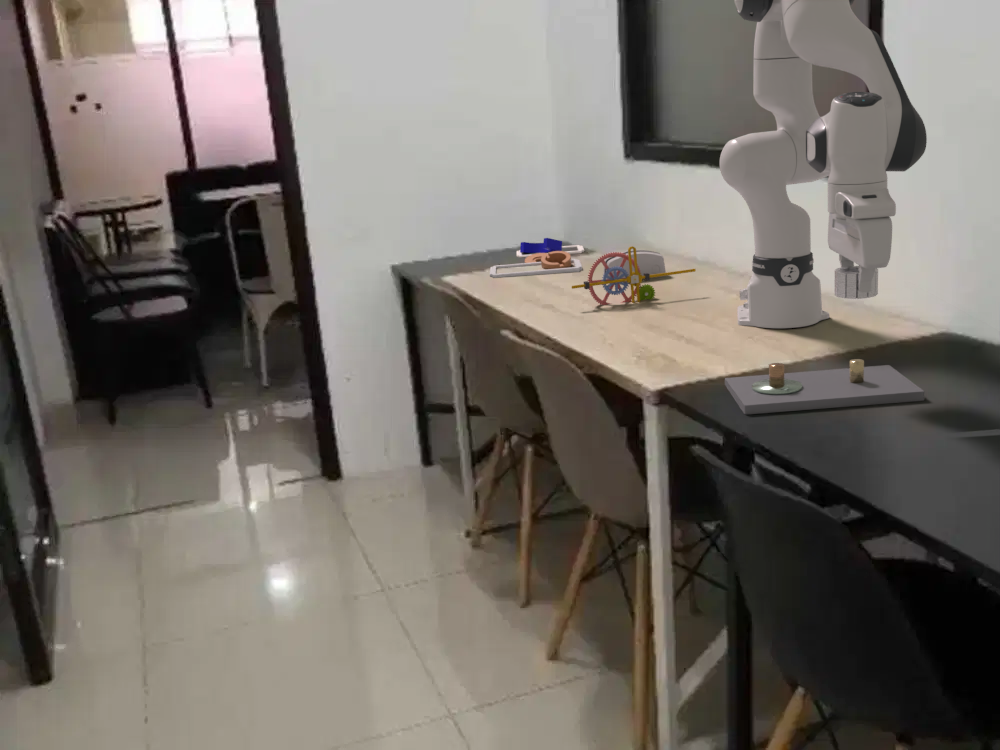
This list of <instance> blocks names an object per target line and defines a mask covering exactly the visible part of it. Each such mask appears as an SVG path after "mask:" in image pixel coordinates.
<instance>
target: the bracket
mask: <svg viewBox="0 0 1000 750" xmlns="http://www.w3.org/2000/svg"><path fill="white" fill-rule="evenodd" d="M531 254H532V255H530V254H529V255H530V256H528V257H525V259H524V263H532V262H541V264H542V265H541V268H542V269H543V270H546V269H558V268H570V267H571V266H572V263H571V259H572V258H571V255H572V254H569V253H567V252H565V251H564V250H562V251H553V252H549V253H531Z"/></svg>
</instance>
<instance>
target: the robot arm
mask: <svg viewBox="0 0 1000 750" xmlns="http://www.w3.org/2000/svg"><path fill="white" fill-rule="evenodd" d="M733 1H734V5H735V7H736V11H737V14H738V15H739V16H740V17H741V19H743V20H744V21H749V22H756V26H755V34H754V41H753V42H754V43H753V72H752V73H753V75H752V76H753V77H752V78H753V80H752V81H753V89H752V90H753V92H752V94H753V98H754V100H755V102H756V103H757V104H758V106H760V107H761V108H762V109H765V111H769V112H770V113H772V115H773V116H774V119H775V122H776V130H770V131H769V130H768V131H759V132H752V133H747V134H744V135H741V136H738V137H736V138H733V139H730V140H728V141H727V142H726V143H725V145H724V146H723V148H722V149H721V150H722V151H721V152H720V155H719V156H720V157H719V170H720V174H721V176H722V178H723V180H724V181H725V183H727V185H729V186H730V187H731V188H732V189H734V190H735V191H736V192H737V193H739V194H740V196H741V198H743V200H744V201H745V203H746V205H747V207H748V209H749V212H750V215H751V219H752V220H751V221H752V226H753V236H754V237H753V238H754V239H753V240H754V254H753V256H752V261H751V266H752V267H751V268H752V269H751V272H752V275H751V277H750V278H749V281H748V283H747V286H746V287H743V289H739V300H740V301H744V302H743V304H742V305H738V306H737V308H736V309H737V313H736V314H737V325H739V326H745V327H747V326H748V327H758V328H764V329H765V328H766V329H792V328H793V329H795V328H802V327H809V326H812V325H814V324H818V323H819V322H820V321H823V320H827V319H829V318H830V313H829V312H828V311H825V310H824V309H823V304H822V302H823V301H822V288H821V287H822V286H821V285H822V284H821V280H820V278H819V277H817V276H816V275H815V274H814V273H813V270H814V262H815V261H814V255H813V254H814V253H813V252H812V251H811V250H812V249H811V248H812V247H811V245H812V244H811V242H812V241H811V218H810V215H809V213H808V212H807V211H806V209H804V208H803V207H802V206H800V205H798V204H796V203H793V202H792V201H791V200H790V198H789V196H788V191H787V186H789V185H797V184H798V185H799V184H804V183H806V184H807V183H812V182H816V181H818V180H822V179H824V178H827V177H828V179H827V213H829V214H828V224H827V225H828V226H827V227H828V228H827V244H828V248H829V250H831V251H833V252H835V253H836V254H838V260H839V261H838V262H839V265H840V268H841V267H847V266H855V264H856V265H857V266H859V271H860V274H859V280H857V289H858V290H859V291H860V292H862V293H863V292H870V291H871V289H872V279H873V276H874V273H875V268H877V269H882V268H887V266H888V265H889V262H890V260H891V253H892V241H893V222H892V218H891V217H895V215H896V213H897V212H896V211H897V206H896V202H895V200H894V199H893V198H892V196H891V195H890V194H891V193H890V191H889V189H888V173H887V172H906V171H908V170H909V169H910V168H911V167H913V166H914V165H915V164H916V163H917V162H918V161H919V160H920V159H921V158H922V156H923V155H924V154H925V152H926V148H927V143H928V142H927V141H928V137H927V129H926V126H925V123H924V120H923V118H922V117H921V115H920V114H919V113H918V110H917V109H916V107H914V105H913V104H912V102H911V100H910V98H909V96H908V93H907V92H906V89H905V87H904V85H903V83H902V80H901V78H900V75H899V73H898V72H897V69H896V67H895V64H894V62H893V60H892V58H891V56H890V54H889V51H888V49H887V48H886V45H885V43H884V42H883V39H882V38H881V36H880V35H879V33H878V32H876V31H875V30H873V29H871V28H868V27H867V26H866V25H865V24H864V23H863V22H862V21H861V20H860V19H859V18H858V17H857V16H856V14H855V13H854V11H853V10H852V8H851V6H852V5H853V4H854V1H855V0H733ZM813 65H814V66H818V67H823V68H829V69H834V70H839V71H843V72H844V73H845V72H846V73H848V74H851V75H853V76H855V77H858V78H859V79H861V80H862V81H863V82H864V83H865V86H866V87H867V89H868V91H869V92H868V91H867V92H866V91H852V92H846V93H842V94H839V95H836V96H835V97H834V98H833V99H832V101H831V104H830V110H829V112H827V113H825V114H824V115H822V116H820V114H819V112H818V111H819V110H818V109H817V107H816V104H815V99H814V92H813V91H814V90H813V89H814V88H813ZM745 301H746V302H745Z"/></svg>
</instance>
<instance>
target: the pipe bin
mask: <svg viewBox="0 0 1000 750" xmlns="http://www.w3.org/2000/svg"><path fill="white" fill-rule="evenodd" d="M572 263H573V265H574V266H572V267H571V266H570V267H567V268H558V269H537V270H534V269H533V270H526V271H524V270H523V271H513V272H500V273H497V269H505V268H517V267H531V266H542V264H541V261H538V262H532V263H525V262H521V263H512V264H511V263H510V264H500V265H499V264H498V265H493V266H490V269H489V277H490V278H493V279H496V278H509V277H524V276H537V275H538V276H539V275H550V274H551V275H552V274H565V273H566V274H567V273H580V271H583V266H582V263H581V260H580V259H577V258H571V264H572Z"/></svg>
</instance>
